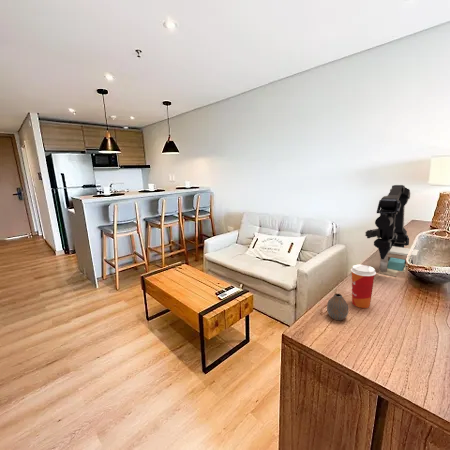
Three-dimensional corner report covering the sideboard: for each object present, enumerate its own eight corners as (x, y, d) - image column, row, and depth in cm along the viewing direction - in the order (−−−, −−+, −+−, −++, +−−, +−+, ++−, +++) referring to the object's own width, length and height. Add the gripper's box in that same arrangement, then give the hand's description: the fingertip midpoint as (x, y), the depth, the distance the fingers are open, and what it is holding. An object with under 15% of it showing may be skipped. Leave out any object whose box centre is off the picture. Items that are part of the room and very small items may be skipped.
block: (390, 264, 125) (390, 257, 124) (404, 267, 121) (405, 259, 120) (387, 268, 121) (388, 260, 120) (402, 271, 117) (403, 263, 116)
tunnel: (385, 259, 136) (386, 245, 135) (417, 264, 127) (418, 249, 125) (381, 264, 129) (382, 250, 128) (414, 270, 120) (416, 255, 118)
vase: (322, 315, 88) (323, 293, 87) (336, 309, 91) (337, 288, 89) (338, 325, 82) (339, 301, 80) (352, 319, 85) (353, 296, 83)
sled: (384, 264, 128) (386, 243, 125) (407, 268, 121) (409, 246, 119) (378, 273, 118) (380, 250, 116) (402, 278, 112) (404, 254, 109)
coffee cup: (353, 296, 100) (355, 262, 96) (376, 303, 94) (379, 267, 91) (345, 305, 94) (347, 268, 91) (369, 312, 88) (372, 274, 85)
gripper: (372, 219, 125) (370, 248, 129) (362, 226, 112) (360, 258, 115) (398, 221, 118) (395, 252, 121) (391, 229, 105) (388, 263, 108)
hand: (384, 256), depth 117 cm, fingers open, 9 cm apart
